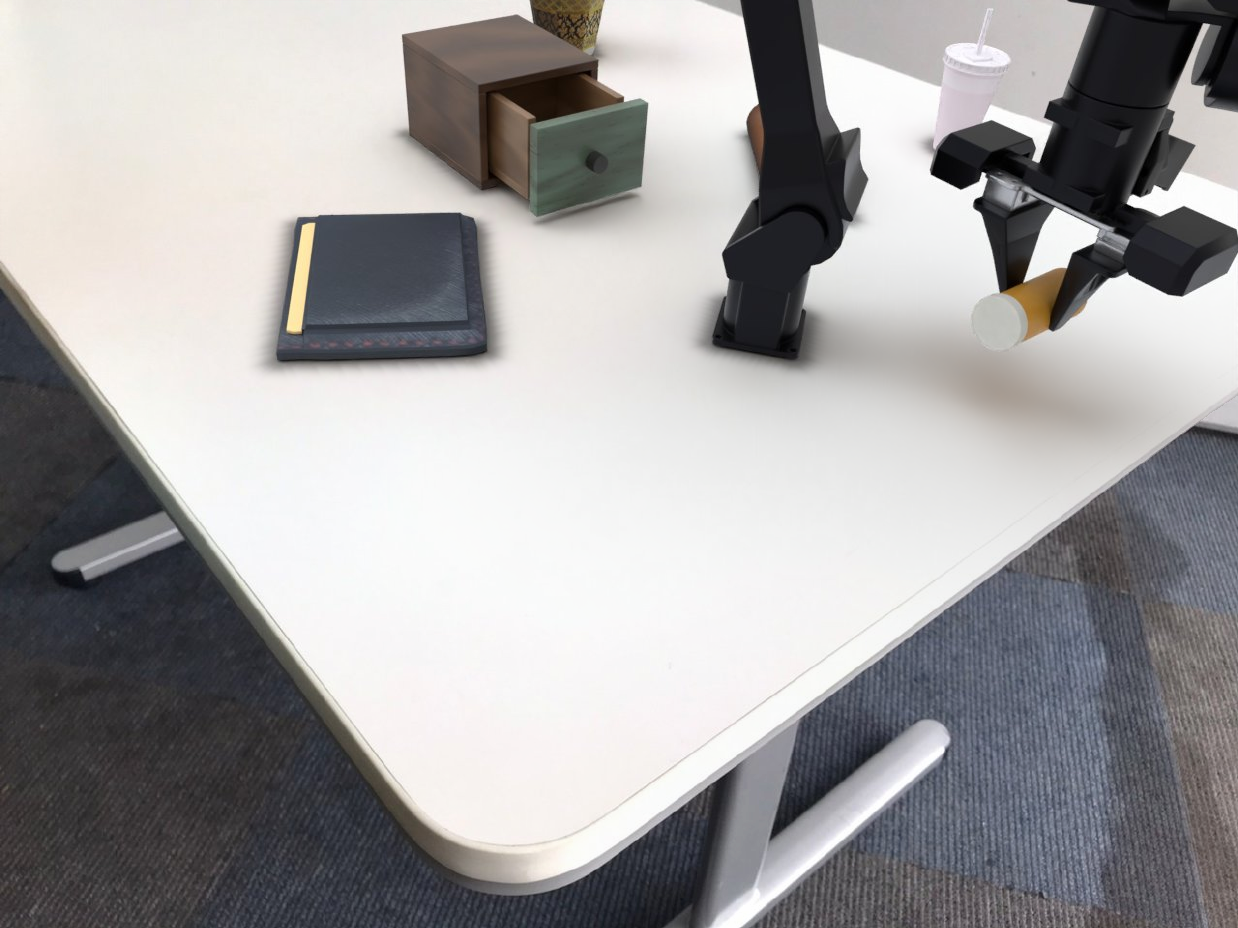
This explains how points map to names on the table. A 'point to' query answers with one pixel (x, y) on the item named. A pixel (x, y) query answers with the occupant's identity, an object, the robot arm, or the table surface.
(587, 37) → the ceramic cup
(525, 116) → the drawer
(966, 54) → the smoothie
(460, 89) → the cabinet
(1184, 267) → the robot arm
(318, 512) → the table surface
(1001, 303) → the tube
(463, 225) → the wallet
